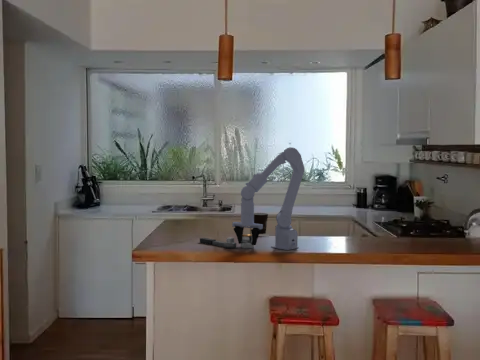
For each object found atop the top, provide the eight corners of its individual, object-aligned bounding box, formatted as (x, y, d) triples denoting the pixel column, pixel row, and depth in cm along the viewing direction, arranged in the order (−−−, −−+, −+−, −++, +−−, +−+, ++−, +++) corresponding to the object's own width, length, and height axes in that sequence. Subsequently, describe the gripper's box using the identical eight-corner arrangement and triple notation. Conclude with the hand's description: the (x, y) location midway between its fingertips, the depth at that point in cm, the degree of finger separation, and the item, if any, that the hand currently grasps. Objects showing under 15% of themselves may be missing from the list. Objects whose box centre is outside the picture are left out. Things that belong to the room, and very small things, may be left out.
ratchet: (238, 247, 240) (238, 238, 240) (230, 249, 236) (230, 239, 236) (206, 241, 255) (206, 232, 255) (197, 242, 252) (197, 233, 252)
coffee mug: (261, 235, 276) (261, 215, 275) (247, 233, 281) (247, 213, 280) (274, 232, 285) (274, 213, 284) (260, 230, 290) (260, 211, 290)
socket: (253, 248, 239) (253, 235, 239) (243, 248, 238) (243, 235, 238) (250, 246, 244) (251, 233, 244) (240, 246, 243) (240, 234, 242)
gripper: (266, 213, 240) (266, 244, 241) (238, 211, 247) (238, 241, 248) (258, 215, 234) (258, 246, 235) (229, 213, 241) (229, 243, 242)
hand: (247, 244), depth 241 cm, fingers closed on socket, 6 cm apart
